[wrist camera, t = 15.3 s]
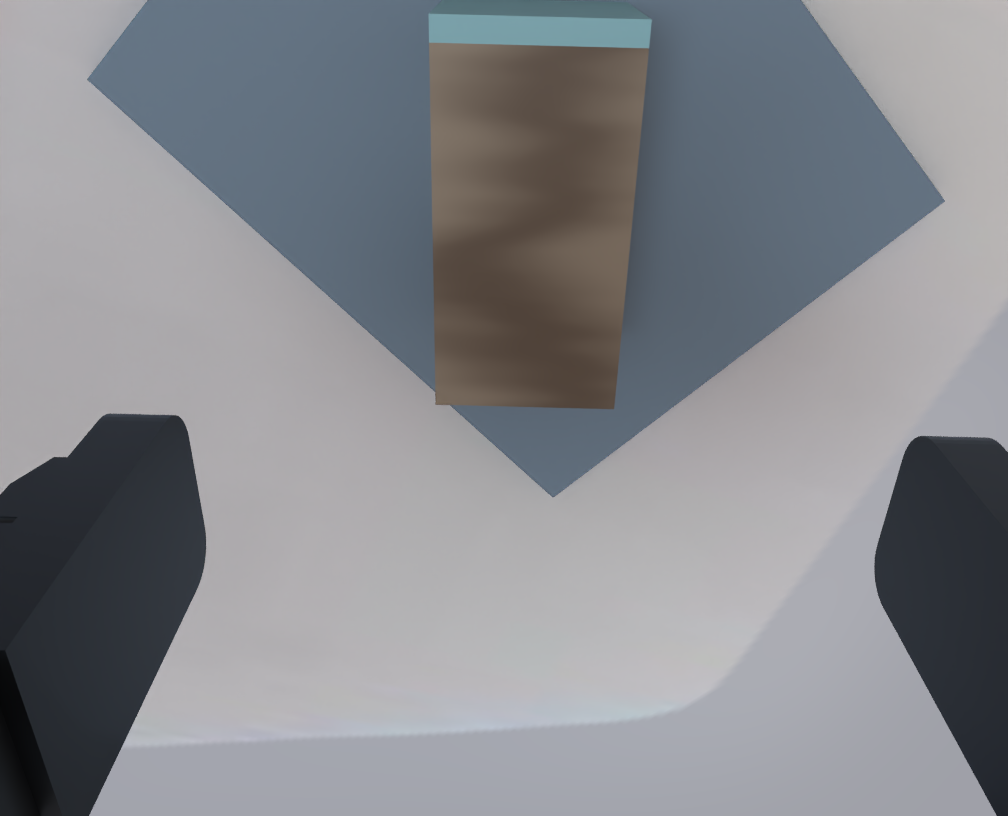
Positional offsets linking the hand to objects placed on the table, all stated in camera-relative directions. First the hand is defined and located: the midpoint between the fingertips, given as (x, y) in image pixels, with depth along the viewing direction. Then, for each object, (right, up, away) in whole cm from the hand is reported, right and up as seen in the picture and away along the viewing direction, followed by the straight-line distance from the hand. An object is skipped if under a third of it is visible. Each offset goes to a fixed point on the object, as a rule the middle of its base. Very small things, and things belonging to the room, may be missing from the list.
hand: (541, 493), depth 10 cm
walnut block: (0, +2, +17) cm, 17 cm away
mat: (0, +9, +16) cm, 19 cm away
